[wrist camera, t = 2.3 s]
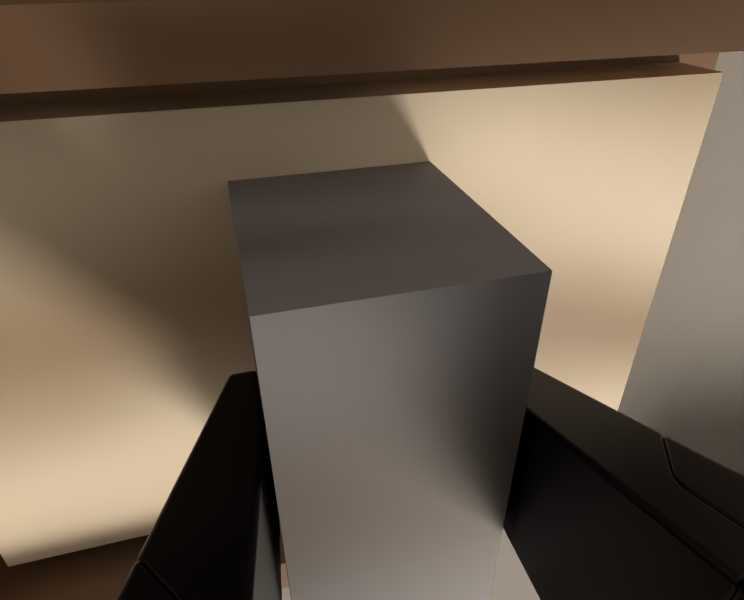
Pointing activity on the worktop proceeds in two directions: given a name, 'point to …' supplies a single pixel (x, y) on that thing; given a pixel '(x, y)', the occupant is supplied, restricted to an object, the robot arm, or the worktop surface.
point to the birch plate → (167, 263)
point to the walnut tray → (311, 67)
